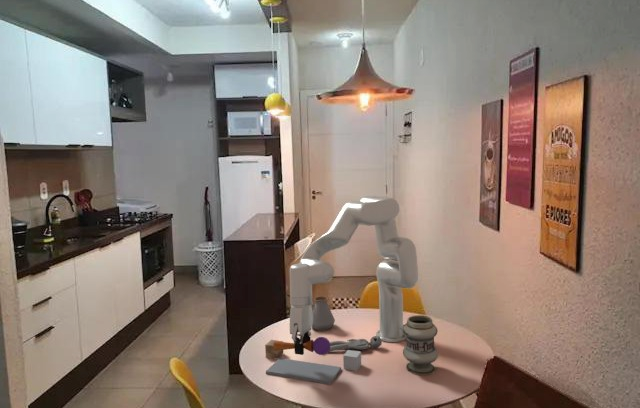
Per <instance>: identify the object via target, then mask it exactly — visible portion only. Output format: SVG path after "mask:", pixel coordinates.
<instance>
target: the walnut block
mask: <svg viewBox="0 0 640 408" xmlns="http://www.w3.org/2000/svg"><path fill="white" fill-rule="evenodd" d="M275 341H279V342H284V341H283V340H278V339H277V340H276V339H271V340H269V341H268V342H267V343H265V345H264V347H265V348H264V349H265V358H267V359H268V358H269V359H273V360H274V359H276V360H278V359H279V358H281V357H282V356H283V355H284V350H278V351H274V348H273V345H274V342H275Z"/></svg>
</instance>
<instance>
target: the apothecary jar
mask: <svg viewBox="0 0 640 408" xmlns="http://www.w3.org/2000/svg"><path fill="white" fill-rule="evenodd" d="M406 320H407V321H406V323H405V324H403V325H404V326H403V333H404V334H405V335H406V339H405V342H406V344H405V346H404V348H403V349H402V355H403V357H404V358H405V359H406V360H407V361H408V363H407V364H406V366H405V367H406V370H407V371H408V372H411V373H412V374H414V375H417V376H427V375H428V376H429V375H431V374H433V373H435V372H436V367H435V366H434V364H432V363H434V362H435V361H437V359H438V357H439V351H438V349H437V347H435V337H436V336H437V335H438V328H437V326H436V325H435V324H434V323H433V319H432V318H431V317H430V316H428V315H422V314H417V315H410V316H408V318H407V319H406Z"/></svg>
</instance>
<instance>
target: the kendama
mask: <svg viewBox="0 0 640 408" xmlns="http://www.w3.org/2000/svg"><path fill="white" fill-rule="evenodd" d="M279 341H280V340H277V341H275V342H274V345H273V348H274V351H278V350H283V351H285V350H295V345H294V342H288V341H286V342H285V341H283V342H279ZM330 342H331V341H330V340H329V339H328V338H327V337H325V336H319V337H316V338H315V339H311V340H310V341H308V342H306V343H304V350H307V351H308V352H311V353H315V354H317V355H319V356H325V355H327V354H328V353H329V352H328V351H329V350H330Z"/></svg>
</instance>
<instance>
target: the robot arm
mask: <svg viewBox="0 0 640 408" xmlns="http://www.w3.org/2000/svg"><path fill="white" fill-rule="evenodd" d="M399 212H400V204H399V202H398V201H397V200H396V199H395V198H393V197H387V196H386V197H385V196H376V195H375V196H373V195H368V196H363V197H362V198H361V199H359V201H356V200H355V201H353V200H351V201H347V202H346V203H345V204H344V205H343V206H342V207H341V209H340V210H339V213H338V214H337V216H336V218H335V219H334V221H333V222H332V223H331V226H330V228H329V229H328V231H327V232H326V233H324V234H322V235H321V236H320V237H318V238H317V239H316V240H314V241H313V242H311V244H309V246H308V247H307V249H306V250H305V251H304V253H303V254H302V257H301V258H300V259H299V262H298V263H294V264H292V265H290V267H289V295H290V297H289V299H290V301H289V302H290V312H289V334H290V335H291V339H292V341H293V343H294V345H295V349H294V354H295V355H300V356H303V355H304V354H305V348H304V343H306V342H308V341H310V340H312V338H311V335H312V332H311V330H312V328H313V327H312V324H313V317H312V311H313V306H312V304H313V285H314V284H316V285H318V284H325V283H328V282H330V281H331V280H332V279H333V278H334V275H335V270H334V267H333V265H332V264H330V263H329V262H327V261H323V260H321V259H322V258H323V257H324V256H325V255H327V254H328V253H329V252H331V251H334V250H337V249H340V248H342V247H345V246H347V245H348V244H349V243H350V242H351V240H352V237H353V235H354V234H355V232H356V230H357V229H358V227H359V226H369V227H370V226H371V227H372V226H373V227H374V230H375V238H376V246H377V247H376V248H377V249H376V250H377V253H378V255H379V256H380V257H381V258H383V259H387V260H382V261H381V262H380V263H379V264H378V265H377V266H376V270H375V271H376V272H375V273H376V280H377V285H378V295H379V296H378V297H379V298H378V303H379V308H378V309H379V312H378V313H379V329H378V330H377V331H376V332H375V336H379V337H380V338H381V340H382V342H385V343H398V342H402V341H404V340H405V341H406V335H405V334H404V333H403V326H404V325H405V324H404V297H403V296H404V295H403V291H402V289H406V290H407V289H408V290H409V289H412V288H415V287H416V285H417V282H418V279H419V269H418V258H417V255H418V254H417V249H416V246H415V244H414V242H413V240H412V239H410V238H407V237H403V236H400V235H398V229H397V222H396V218H397V216H398V215H399Z"/></svg>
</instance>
